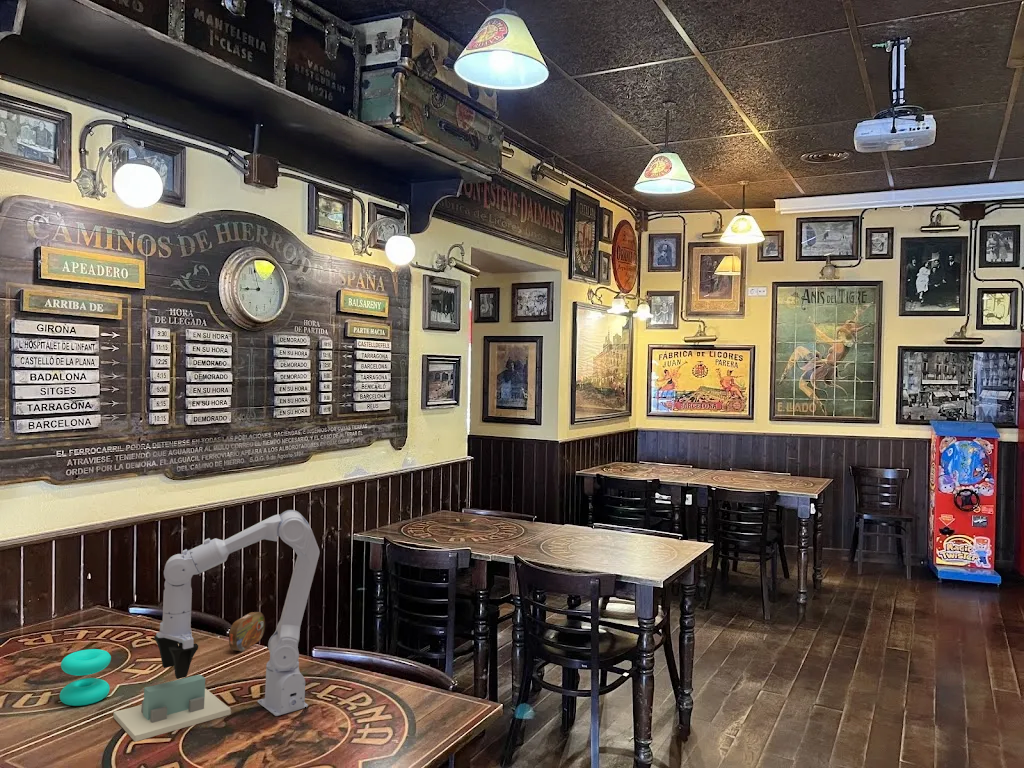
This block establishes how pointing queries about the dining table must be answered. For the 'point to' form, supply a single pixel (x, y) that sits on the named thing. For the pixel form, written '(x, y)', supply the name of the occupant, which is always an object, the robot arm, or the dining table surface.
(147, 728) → the hinge board
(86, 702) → the donuts
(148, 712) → the teal rectangular block
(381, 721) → the dining table surface
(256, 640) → the tin
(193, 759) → the dining table surface
